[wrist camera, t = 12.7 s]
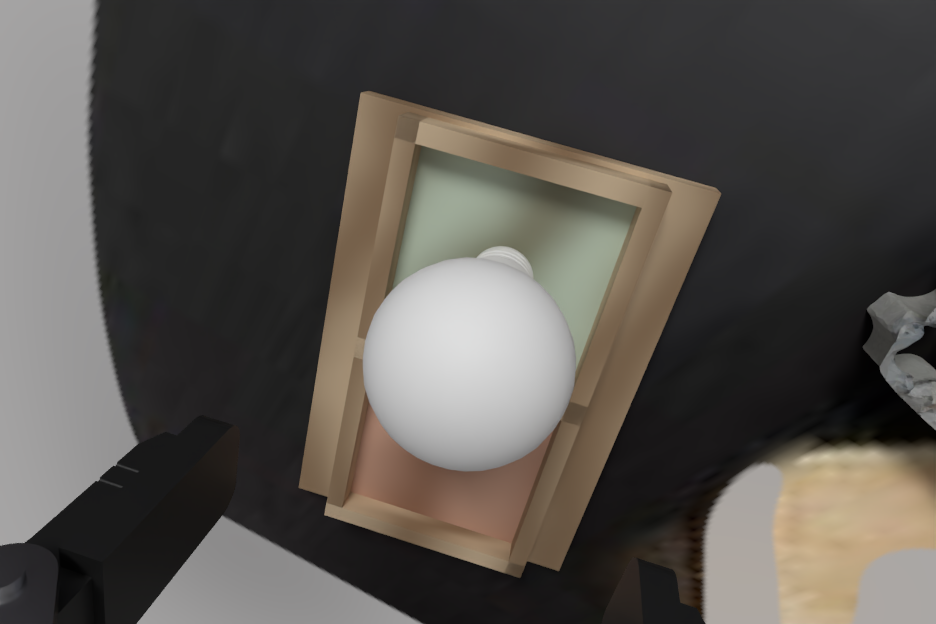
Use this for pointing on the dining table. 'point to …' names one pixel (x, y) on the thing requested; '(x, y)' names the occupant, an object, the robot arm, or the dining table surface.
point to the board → (554, 267)
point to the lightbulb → (470, 362)
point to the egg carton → (895, 331)
